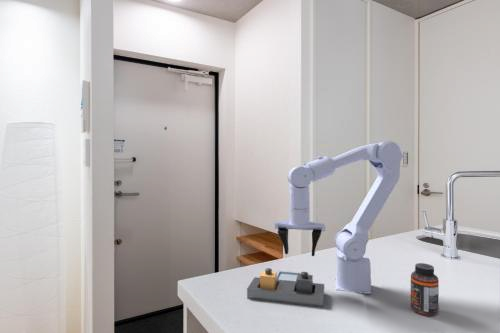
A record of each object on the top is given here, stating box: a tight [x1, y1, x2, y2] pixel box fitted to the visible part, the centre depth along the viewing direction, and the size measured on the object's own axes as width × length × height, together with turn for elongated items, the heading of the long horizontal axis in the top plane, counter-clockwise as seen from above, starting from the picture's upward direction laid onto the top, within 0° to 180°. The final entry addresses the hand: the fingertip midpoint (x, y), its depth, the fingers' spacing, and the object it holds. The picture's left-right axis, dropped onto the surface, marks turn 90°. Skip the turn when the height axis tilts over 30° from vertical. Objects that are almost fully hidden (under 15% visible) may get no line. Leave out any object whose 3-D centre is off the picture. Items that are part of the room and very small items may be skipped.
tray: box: [276, 270, 311, 281], centre depth 92 cm, size 11×11×1 cm
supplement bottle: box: [410, 262, 440, 317], centre depth 74 cm, size 6×6×11 cm
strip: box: [246, 276, 325, 308], centre depth 82 cm, size 20×8×3 cm, turn 75°
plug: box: [259, 267, 277, 290], centre depth 83 cm, size 4×4×7 cm
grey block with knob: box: [296, 271, 314, 294], centre depth 80 cm, size 4×4×7 cm
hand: (299, 254), depth 88 cm, fingers open, 7 cm apart
